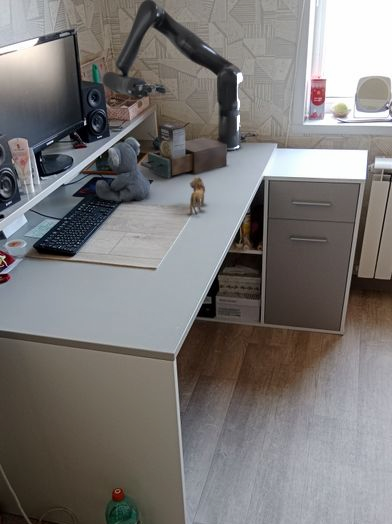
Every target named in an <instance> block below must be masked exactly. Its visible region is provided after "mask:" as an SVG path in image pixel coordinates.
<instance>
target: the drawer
mask: <svg viewBox="0 0 392 524" xmlns="http://www.w3.org/2000/svg"><path fill="white" fill-rule="evenodd" d="M140 166H141V167H144V168H146V169H148V171H150V172H152V173H154V174H157V175H159V176H162V177H165V178H167V179H170V178H171V176H177V175H180V174H183V173H187V172H188V171H191V170H193V153H190V152H187V151H185V155H184V156H180V157H176V158H172V159H171V170H170V160H169V159H167V158H164V157H161V156H160V150H159V151H155V152H150V151H149V152H147V161H140ZM188 173H189V172H188Z"/></svg>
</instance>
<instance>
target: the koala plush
mask: <svg viewBox="0 0 392 524" xmlns="http://www.w3.org/2000/svg"><path fill="white" fill-rule="evenodd" d="M140 147H141V144H140V143H139V142H138V140H136V138H134V137H133V136H129V137H127V138H126V139H124V142H118V143H115V144H114V145H113V147H110V148H108V158H107V163H108V165H109V168H110V169H111V170H112V171H113V173H115V174H116V175H117V176H116V178H114V179H113V180H112V181H111V183H110V185H109V184H108V182H107V181H106V180H104V179H101V180H100V179H99V180H97V181H96V183H95V193H96V195H97V197H98V198H99V199H101V200H104V201H114V202H117V203H120V202H124V201H125V202H130V201H133V200H135V201H142V200H144V199H146V198H147V197H148V196H149V195H150V192H151V183H150V180H149V179H148V178H146V177H145V176H144V174H143V173H142V170H141V168H140V166H138V158H137V156H139V155H140V151H141V149H140Z"/></svg>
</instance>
